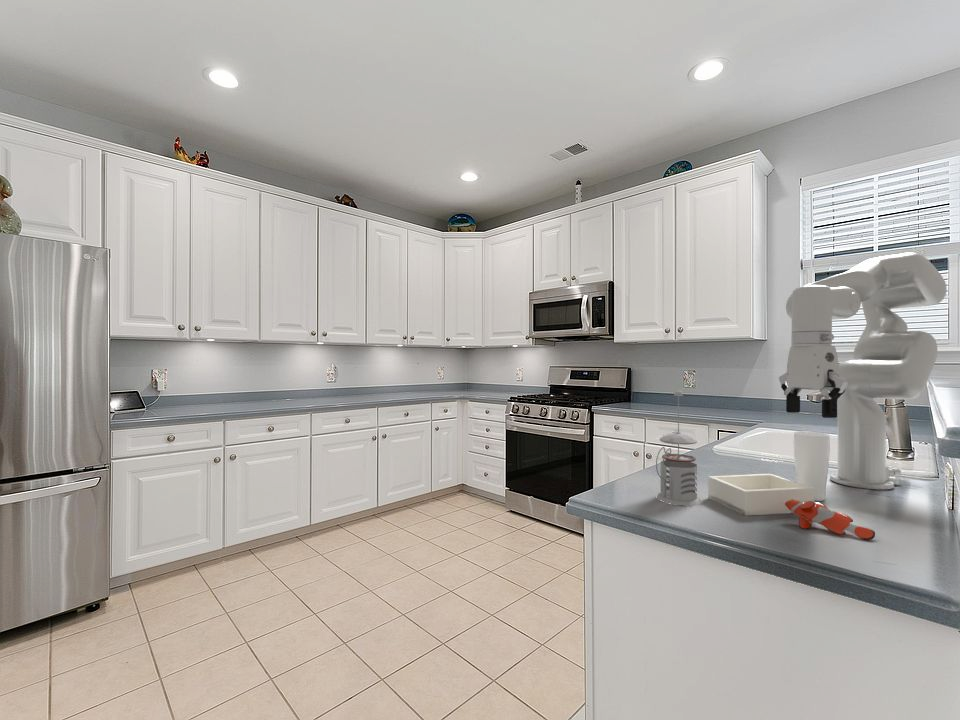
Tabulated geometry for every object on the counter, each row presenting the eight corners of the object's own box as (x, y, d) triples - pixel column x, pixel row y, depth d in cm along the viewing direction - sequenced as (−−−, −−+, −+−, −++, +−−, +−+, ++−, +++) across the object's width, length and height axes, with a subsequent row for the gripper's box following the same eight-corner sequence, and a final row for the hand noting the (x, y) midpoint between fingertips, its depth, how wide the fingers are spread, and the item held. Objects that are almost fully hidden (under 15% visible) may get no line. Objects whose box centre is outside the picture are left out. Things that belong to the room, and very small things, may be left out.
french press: (711, 501, 104) (711, 391, 103) (678, 510, 98) (678, 393, 97) (673, 490, 112) (673, 388, 112) (641, 498, 106) (641, 390, 106)
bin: (770, 494, 108) (770, 473, 108) (814, 511, 96) (814, 488, 96) (708, 497, 106) (708, 476, 106) (745, 515, 94) (745, 491, 94)
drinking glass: (837, 502, 102) (837, 435, 102) (811, 504, 101) (811, 436, 101) (811, 493, 109) (811, 430, 109) (786, 494, 108) (786, 431, 108)
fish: (776, 496, 91) (809, 492, 94) (776, 520, 91) (809, 516, 94) (844, 518, 79) (879, 513, 81) (844, 545, 79) (879, 540, 81)
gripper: (861, 338, 97) (861, 419, 97) (794, 341, 114) (794, 410, 114) (830, 338, 96) (829, 420, 96) (767, 341, 113) (766, 410, 113)
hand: (810, 414), depth 105 cm, fingers open, 9 cm apart
